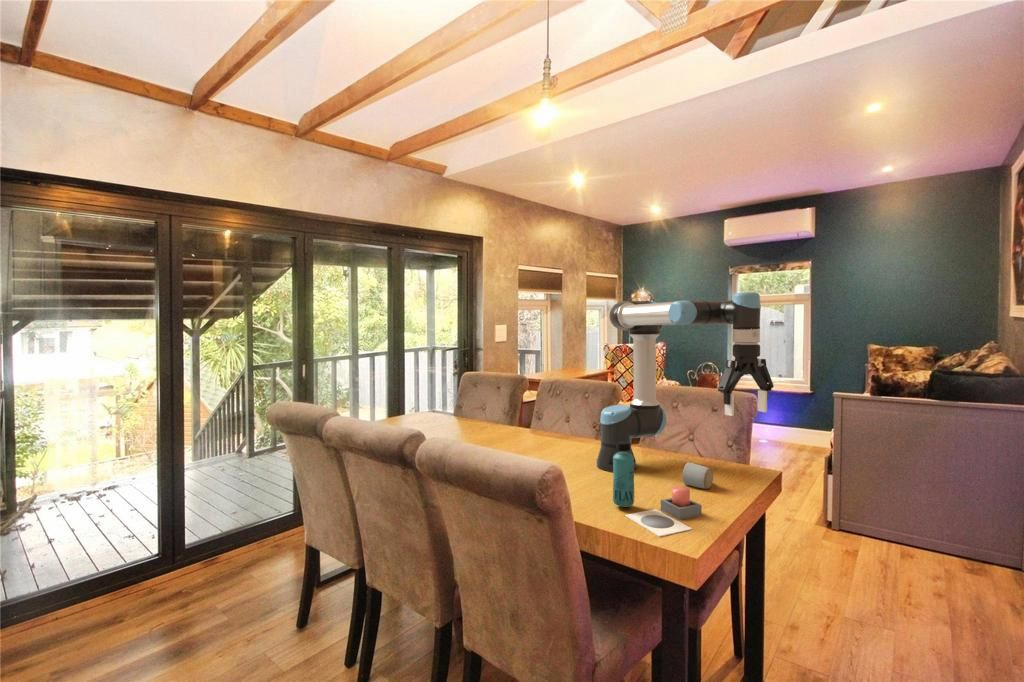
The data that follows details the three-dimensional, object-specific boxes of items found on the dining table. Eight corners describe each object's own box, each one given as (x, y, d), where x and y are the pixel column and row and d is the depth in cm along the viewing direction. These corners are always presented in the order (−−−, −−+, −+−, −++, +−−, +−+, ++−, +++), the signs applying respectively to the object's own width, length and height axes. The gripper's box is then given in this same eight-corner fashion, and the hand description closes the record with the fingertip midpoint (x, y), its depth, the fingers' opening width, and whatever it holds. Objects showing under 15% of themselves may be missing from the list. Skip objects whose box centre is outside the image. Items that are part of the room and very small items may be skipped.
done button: (668, 504, 141) (668, 487, 141) (681, 501, 143) (681, 485, 143) (680, 510, 137) (680, 492, 137) (693, 507, 139) (693, 490, 138)
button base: (660, 509, 142) (660, 499, 142) (681, 505, 145) (681, 495, 145) (679, 519, 135) (679, 509, 135) (701, 515, 138) (701, 504, 138)
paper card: (624, 516, 138) (624, 514, 138) (655, 510, 142) (655, 508, 142) (659, 537, 124) (659, 535, 124) (692, 529, 128) (692, 528, 128)
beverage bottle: (611, 510, 142) (610, 444, 142) (614, 502, 149) (614, 438, 148) (633, 513, 140) (633, 445, 140) (635, 504, 146) (635, 440, 146)
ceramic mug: (706, 492, 156) (706, 469, 156) (681, 486, 162) (682, 464, 162) (717, 484, 164) (718, 462, 164) (694, 479, 170) (694, 458, 170)
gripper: (724, 345, 136) (724, 419, 136) (786, 342, 145) (786, 412, 146) (705, 344, 143) (705, 414, 143) (765, 342, 152) (765, 408, 153)
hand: (746, 413), depth 145 cm, fingers open, 13 cm apart
